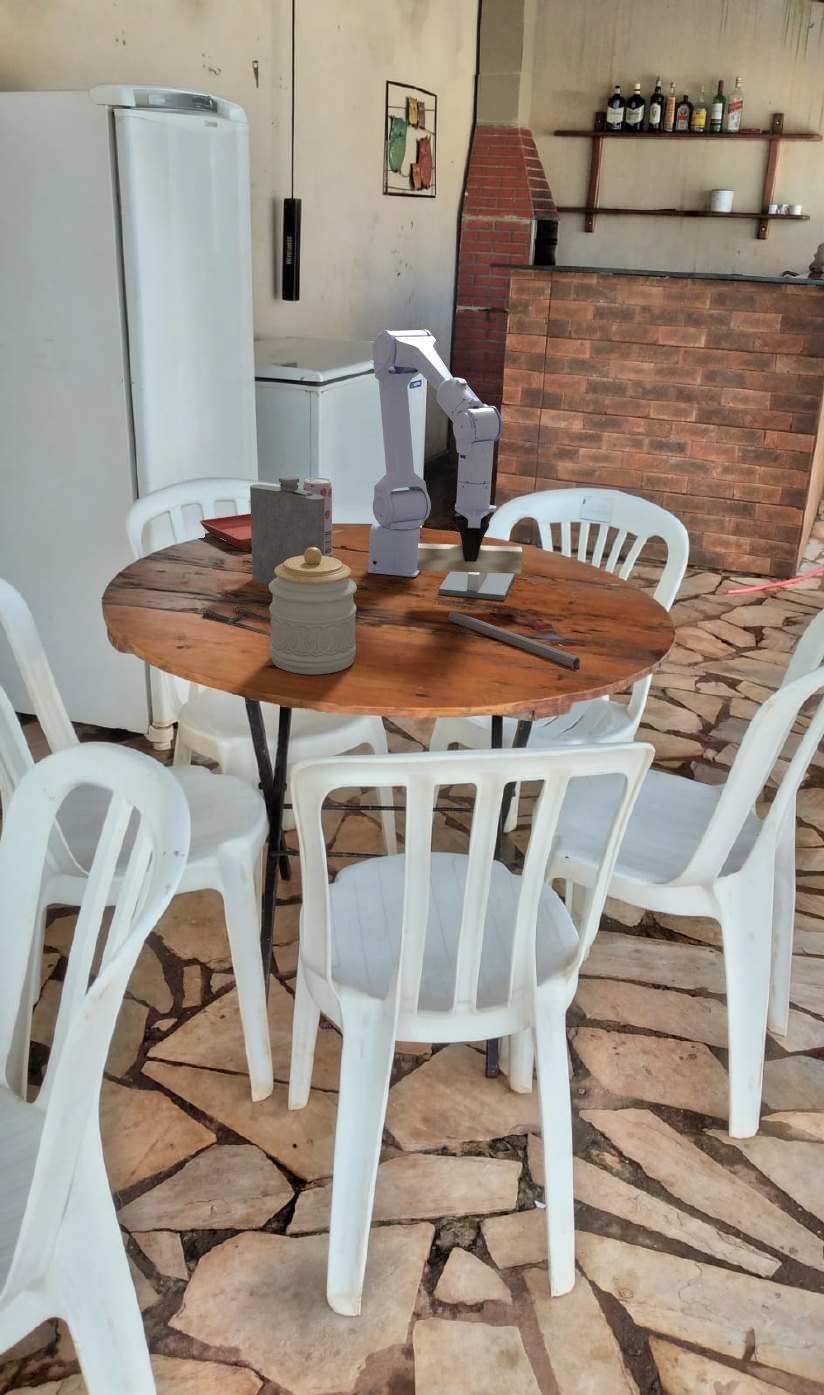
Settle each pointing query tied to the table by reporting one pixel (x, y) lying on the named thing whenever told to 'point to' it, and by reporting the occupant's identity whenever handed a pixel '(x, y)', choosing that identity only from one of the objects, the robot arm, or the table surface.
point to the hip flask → (283, 525)
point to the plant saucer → (231, 529)
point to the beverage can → (325, 489)
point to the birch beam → (453, 561)
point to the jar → (312, 615)
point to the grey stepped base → (477, 585)
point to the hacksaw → (240, 616)
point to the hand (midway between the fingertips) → (469, 558)
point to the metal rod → (515, 639)
